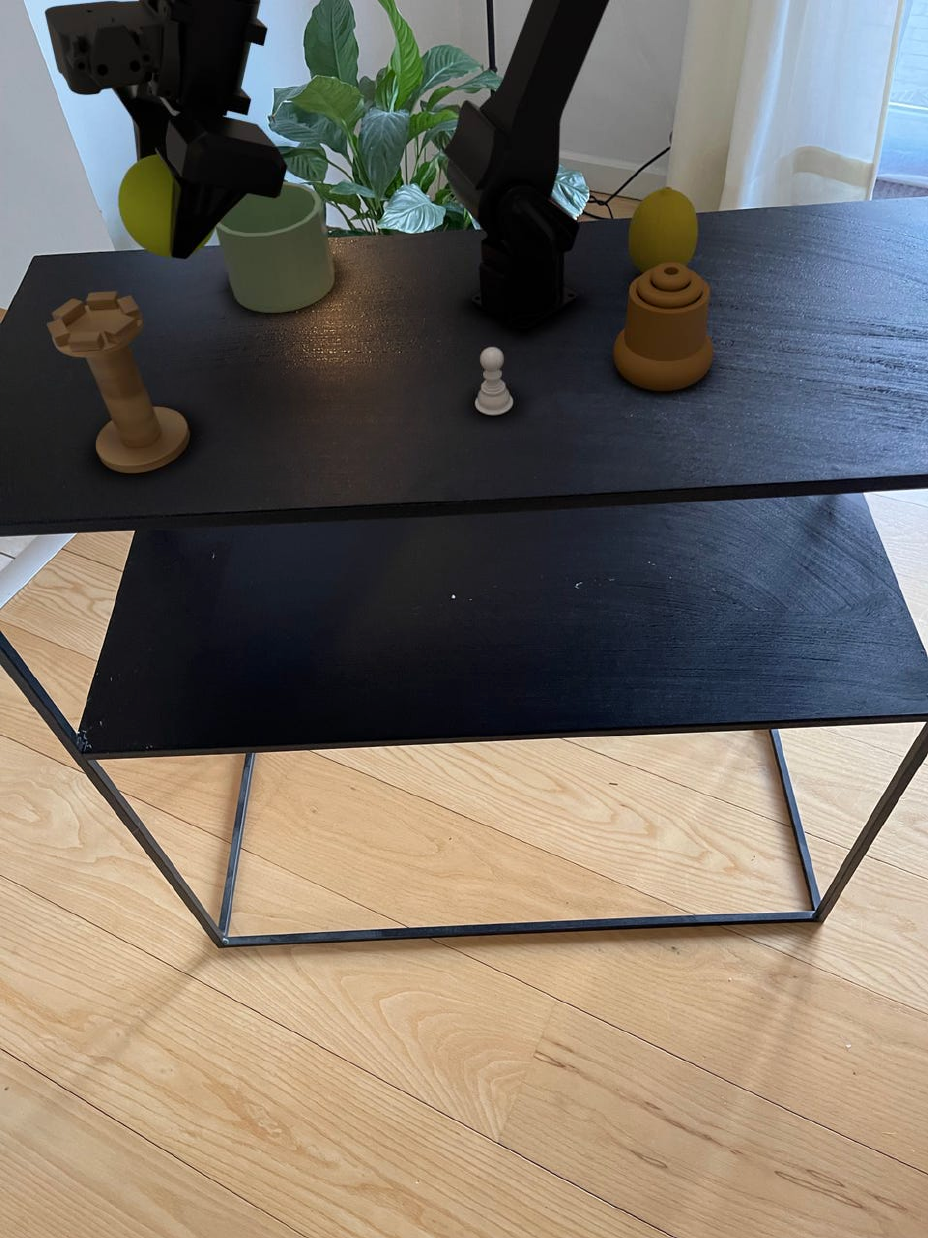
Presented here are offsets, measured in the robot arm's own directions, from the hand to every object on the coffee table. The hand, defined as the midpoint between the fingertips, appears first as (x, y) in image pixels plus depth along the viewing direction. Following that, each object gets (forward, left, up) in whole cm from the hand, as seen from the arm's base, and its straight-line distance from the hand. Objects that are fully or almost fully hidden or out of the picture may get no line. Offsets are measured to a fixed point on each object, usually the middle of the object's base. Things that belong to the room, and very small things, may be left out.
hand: (163, 234), depth 67 cm
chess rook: (+7, +1, -13) cm, 15 cm away
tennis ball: (-1, 0, +2) cm, 2 cm away
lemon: (-35, +15, -13) cm, 40 cm away
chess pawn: (-14, +17, -13) cm, 26 cm away
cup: (-13, -9, -13) cm, 20 cm away
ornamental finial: (-26, +23, -13) cm, 37 cm away
